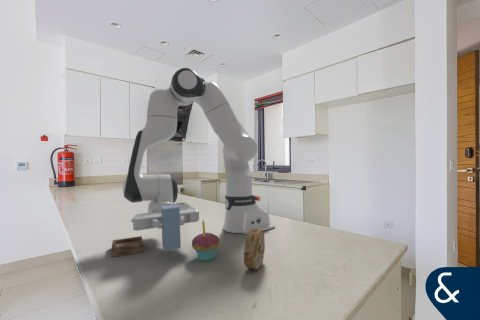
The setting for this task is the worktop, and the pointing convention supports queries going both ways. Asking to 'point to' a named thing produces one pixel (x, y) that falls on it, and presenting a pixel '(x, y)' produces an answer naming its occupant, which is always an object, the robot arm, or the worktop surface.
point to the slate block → (170, 227)
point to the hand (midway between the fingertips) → (171, 224)
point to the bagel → (254, 249)
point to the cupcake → (205, 245)
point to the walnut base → (127, 246)
